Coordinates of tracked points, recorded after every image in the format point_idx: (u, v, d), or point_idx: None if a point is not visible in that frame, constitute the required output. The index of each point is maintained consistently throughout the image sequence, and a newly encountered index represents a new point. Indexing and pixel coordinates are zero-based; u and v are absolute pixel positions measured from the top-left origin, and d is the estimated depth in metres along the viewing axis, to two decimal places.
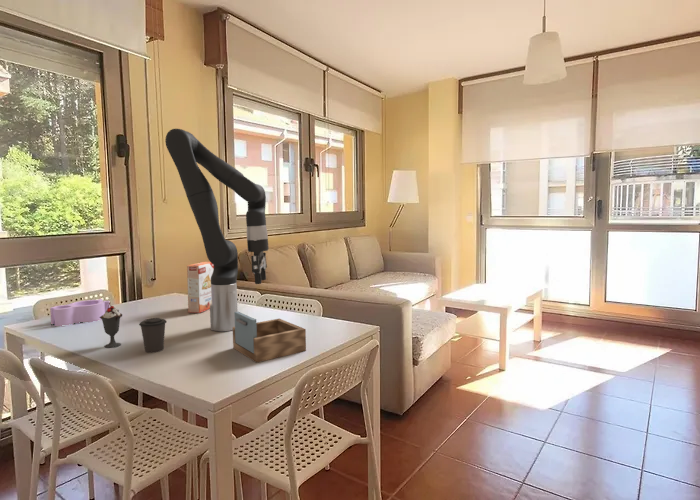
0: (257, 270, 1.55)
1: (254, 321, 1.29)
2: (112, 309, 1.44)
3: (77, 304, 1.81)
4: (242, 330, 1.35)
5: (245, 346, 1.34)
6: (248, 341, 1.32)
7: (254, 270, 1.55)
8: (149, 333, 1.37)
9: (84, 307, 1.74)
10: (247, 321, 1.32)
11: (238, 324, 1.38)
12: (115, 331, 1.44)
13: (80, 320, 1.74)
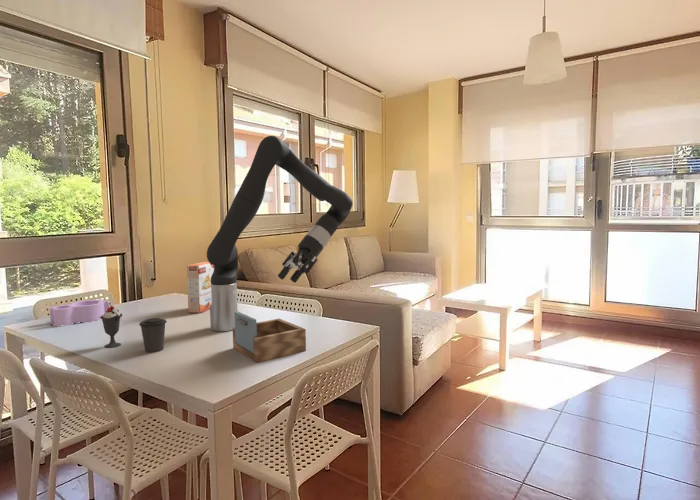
0: (307, 270, 1.39)
1: (254, 321, 1.29)
2: (112, 309, 1.44)
3: (77, 304, 1.81)
4: (242, 330, 1.35)
5: (245, 346, 1.34)
6: (248, 341, 1.32)
7: (305, 268, 1.39)
8: (149, 333, 1.37)
9: (83, 307, 1.74)
10: (247, 321, 1.32)
11: (238, 324, 1.38)
12: (115, 331, 1.44)
13: (79, 320, 1.74)
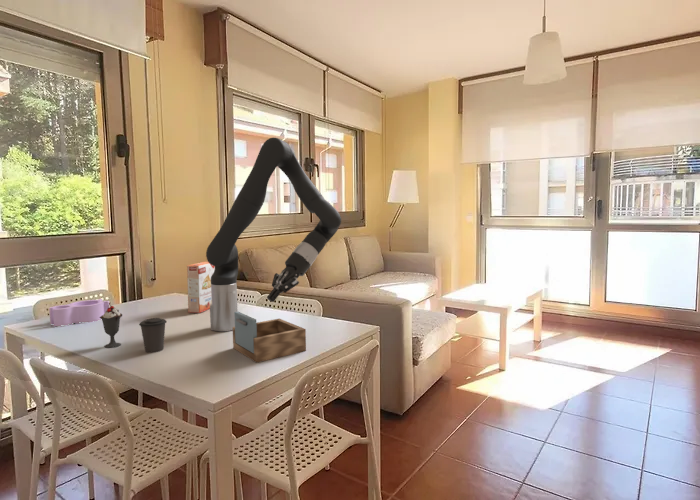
0: (285, 290, 1.39)
1: (254, 321, 1.29)
2: (112, 309, 1.43)
3: (77, 304, 1.81)
4: (242, 330, 1.35)
5: (245, 346, 1.34)
6: (248, 341, 1.32)
7: (283, 288, 1.38)
8: (149, 333, 1.37)
9: (83, 307, 1.74)
10: (247, 321, 1.32)
11: (238, 324, 1.38)
12: (115, 331, 1.44)
13: (79, 320, 1.74)
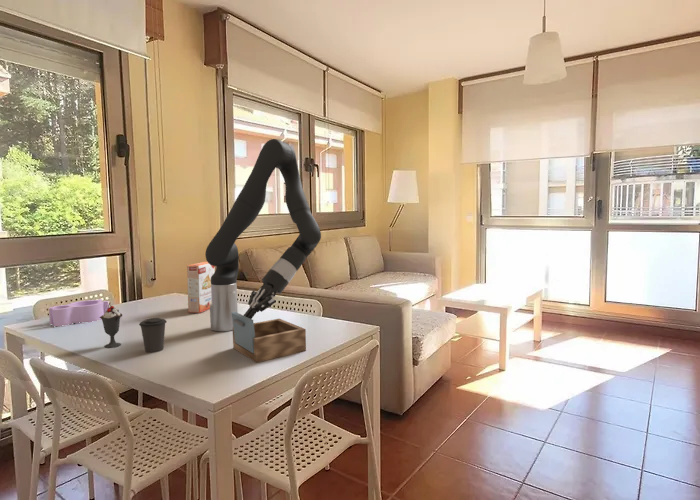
0: (262, 309, 1.34)
1: (251, 322, 1.29)
2: (112, 309, 1.44)
3: (76, 304, 1.81)
4: (240, 330, 1.35)
5: (245, 346, 1.34)
6: (247, 341, 1.32)
7: (259, 307, 1.34)
8: (149, 333, 1.37)
9: (82, 307, 1.74)
10: (244, 322, 1.31)
11: (236, 324, 1.37)
12: (115, 331, 1.44)
13: (78, 320, 1.74)
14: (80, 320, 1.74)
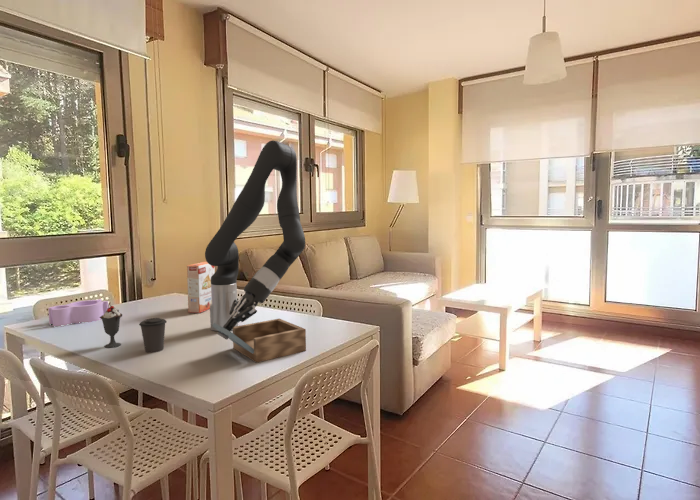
0: (243, 319, 1.31)
1: (231, 334, 1.25)
2: (112, 309, 1.44)
3: (76, 304, 1.81)
4: (230, 338, 1.33)
5: (243, 347, 1.34)
6: (241, 346, 1.31)
7: (239, 317, 1.30)
8: (149, 333, 1.37)
9: (82, 307, 1.74)
10: (226, 334, 1.28)
11: None
12: (115, 331, 1.44)
13: (78, 320, 1.74)
14: (79, 320, 1.74)
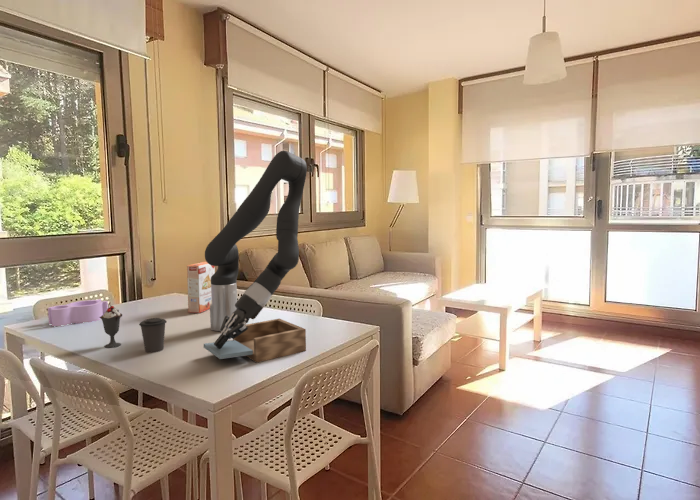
0: (233, 336, 1.29)
1: (221, 356, 1.24)
2: (112, 309, 1.44)
3: (75, 304, 1.81)
4: None
5: None
6: None
7: (230, 334, 1.29)
8: (149, 333, 1.37)
9: (81, 307, 1.74)
10: None
11: None
12: (115, 331, 1.44)
13: (77, 320, 1.74)
14: (79, 320, 1.74)
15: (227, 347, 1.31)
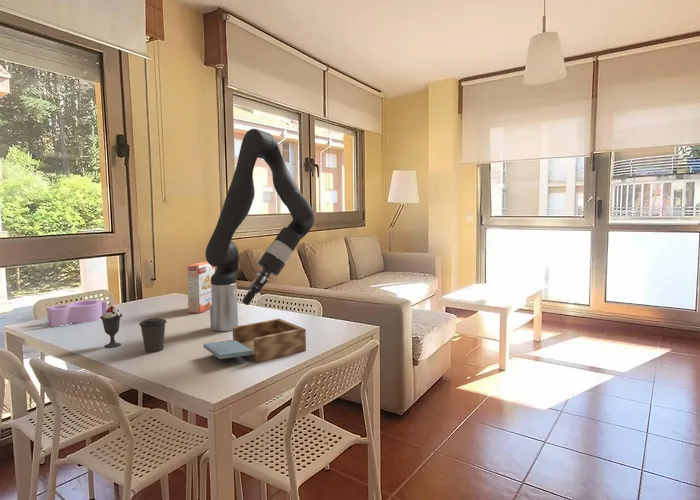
0: (257, 290, 1.34)
1: (221, 356, 1.24)
2: (112, 309, 1.44)
3: (75, 304, 1.81)
4: None
5: None
6: None
7: (254, 289, 1.34)
8: (149, 333, 1.37)
9: (80, 307, 1.74)
10: None
11: None
12: (115, 331, 1.44)
13: (76, 320, 1.74)
14: (78, 320, 1.74)
15: (227, 347, 1.31)
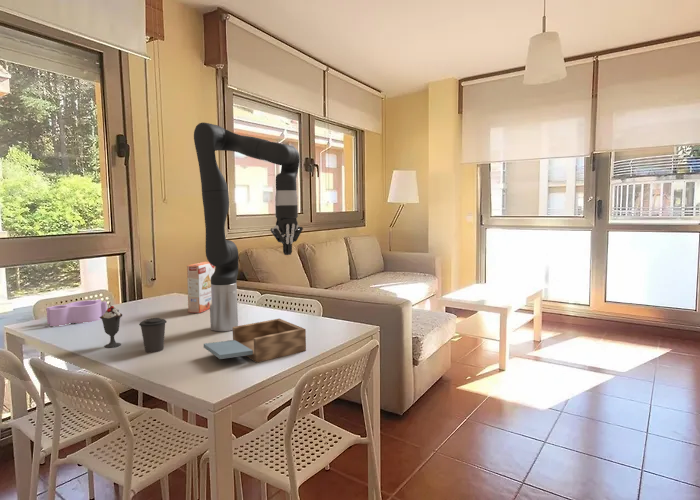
0: (281, 240, 1.48)
1: (221, 356, 1.24)
2: (112, 309, 1.44)
3: (75, 304, 1.81)
4: None
5: None
6: None
7: (279, 241, 1.49)
8: (149, 333, 1.37)
9: (79, 308, 1.73)
10: None
11: None
12: (115, 331, 1.44)
13: (75, 320, 1.74)
14: (77, 320, 1.74)
15: (227, 347, 1.31)
